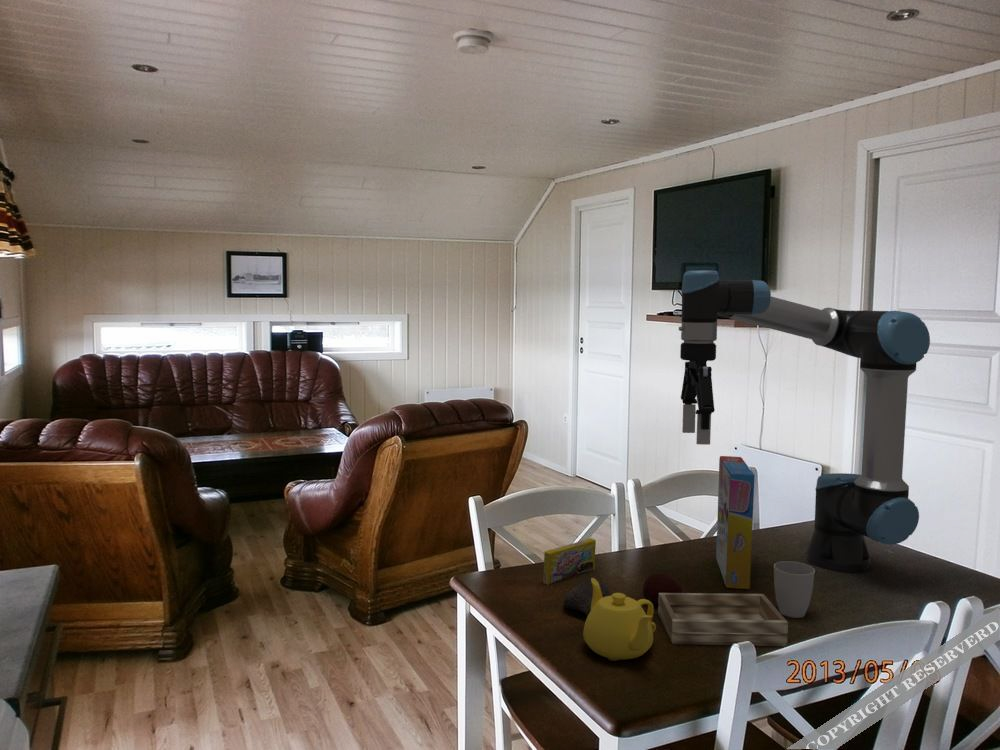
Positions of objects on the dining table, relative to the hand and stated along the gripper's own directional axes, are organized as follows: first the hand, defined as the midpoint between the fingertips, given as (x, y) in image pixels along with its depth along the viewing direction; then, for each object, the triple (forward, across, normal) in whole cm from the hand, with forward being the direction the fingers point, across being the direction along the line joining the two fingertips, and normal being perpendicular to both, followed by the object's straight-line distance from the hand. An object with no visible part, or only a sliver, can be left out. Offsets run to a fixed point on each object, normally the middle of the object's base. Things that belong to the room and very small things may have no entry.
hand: (695, 438), depth 164 cm
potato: (+36, +5, -7) cm, 37 cm away
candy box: (+36, -10, -27) cm, 46 cm away
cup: (+36, +8, +20) cm, 42 cm away
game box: (+36, -14, +13) cm, 41 cm away
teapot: (+36, +27, -19) cm, 49 cm away
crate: (+36, +18, +2) cm, 40 cm away
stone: (+37, +8, -27) cm, 46 cm away
